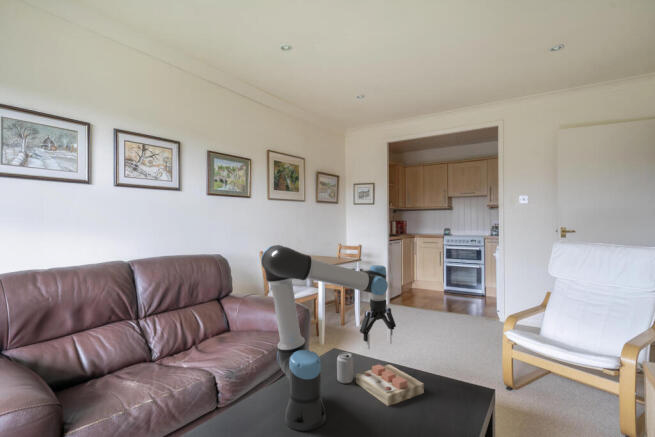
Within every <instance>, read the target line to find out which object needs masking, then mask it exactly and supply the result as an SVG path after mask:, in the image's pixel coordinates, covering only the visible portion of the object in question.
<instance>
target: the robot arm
mask: <svg viewBox="0 0 655 437" xmlns="http://www.w3.org/2000/svg"><path fill="white" fill-rule="evenodd" d="M260 260H261V265H262V266H261V267H262V268H263V269H264V272H265V273H264V274H265V279H266V282H267V283H269V284H270V285H271V290H272V292H271V293H272V297H273V304H274V309H275V310H274V311H275V317H276V323H277V329H278V330H277V331H278V335H279V342H278V343H277V353H276V360H277V361H276V362H277V363H278V364H277V365H278V366H279V368H280V369H281V370H282V372H283V373H284V374H285V377H287V379H288V380H289V400H288V403H287V406H286V410H285V414H284V418H285V419H284V421H285V424H286V425H287V426H288V427H289V428H291V429H292V430H296V431H300V432H304V431H305V432H307V431H309V432H310V431H312V430H313V431H314V430H315V429H318V428H320V427H321V426H322V425H324V423H325V422H326V420H327V419H326V414H327V412H326V408H325V406H324V403H323V398H322V395H321V394H322V388H321V387H322V384H321V383H322V364H321V362H322V361H321V358H320V356H319V354H318V353H317V352H315V351H311V350H309V349H307V345H306V344H307V343H306V339H305V338H304V337H303V336H302V335H301V331H300V330H301V329H300V323H299V317H298V312H297V303H296V298H295V290H294V285H293V284H294V283H293V280H294V279H295V280H300V281H306V280H307V279H308V280H313V281H317V282H321V283H326V284H330V285H335V286H339V287H344V288H348V289H351V290H352V289H353V290H357V291H361V292H366V293H368V294H369V298H370V300H369V307H370V311H368V310H365V311H364V316H363V320H362V323H361V326H360V329H359V332H360V334H363V342H364V348H366V349H368V350H370V348H371V347H370V346H371V345H370V343H371V342H370V340H371V338H370V335H371V334H369V333H370V331H371V329H372V327H373V326H374V324H375V322H376V321H379V320H382V321H383V322H384V324H385V325H386V327H387V328H386V330H385V331H386V343H388V344H390V345H391V344H392V342H393V341H392V340H393V339H392V338H393V337H392V336H393V330H395V328H396V327H397V325H396V323H395V319H394V317H393V314H392V308H391V307H388V306H387V291H388V288H389V283H388V281H387V268H386V266H384V265H379V264H375V265H370V267H369V270H362V271H360V270H356V269H352V268H349V267H345V266H340V265H336V264H332V263H328V262H324V261H321V260H317V259H313V258H312V256H311V255H308V254H304V253H302V252H299V251H297V250H295V249H292V248H290V247H288V246H283V245H279V244H276V245H271V246H269V247H267V248H266V249H265V250H264V251H263V252H262V255H261V259H260Z"/></svg>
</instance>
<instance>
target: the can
mask: <svg viewBox="0 0 655 437" xmlns="http://www.w3.org/2000/svg"><path fill="white" fill-rule="evenodd" d="M336 372H337V373H336V380H337V381H338V382H339V383H340V384H344V385H345V384H350V383H352V382H353V381H354V357H353V355H352V353H350V352H341V353H339V354H338V356H337V358H336Z"/></svg>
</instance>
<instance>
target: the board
mask: <svg viewBox="0 0 655 437" xmlns="http://www.w3.org/2000/svg"><path fill="white" fill-rule="evenodd" d="M382 366H383V367H385V368H386V371H388V370H390V371H392V372H394V373H395V374H396V377H399V376H400V377H402V378H404V379H406V380H407V387H406V388H403V389H400V390H399V389H397V388H396V387H394V386H393V385H392V382H389V383H388V382H386V381H385V380H383V379H382V375H380V376H377V375H375V374H374V373H372V369H370V370H366V371H362V372H358V373H356V374H355V379H356V380H355V382H356V384H357V385H358V386H360V387H361V388H362V389H364V390H365V391H366V392H368V393H369V394H370V395H371V396H374V397H375V398H376V399H378V400H379V401H380V402H382V403H383V404H385V406H387V407H390V406H392V405H395V404H398V403H401V402H404V401H406V400H408V399H411V398H413V397H416V396H419V395H422V394H424V393H425V392H424V390H425V384H424V382H421V381H420V380H418V379H416V378H414V377H413V376H411V375H409V374H407V373H406V372H404V371H402V370H401V369H398V368H396V367H395V366H393V365H391V364H386V365H382Z"/></svg>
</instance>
